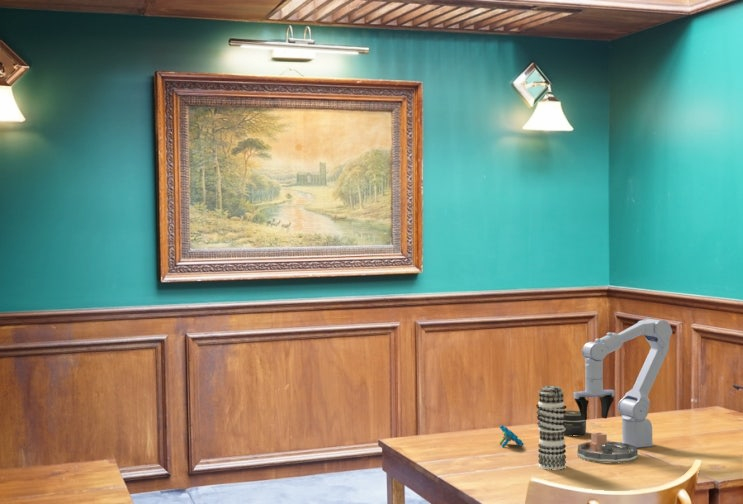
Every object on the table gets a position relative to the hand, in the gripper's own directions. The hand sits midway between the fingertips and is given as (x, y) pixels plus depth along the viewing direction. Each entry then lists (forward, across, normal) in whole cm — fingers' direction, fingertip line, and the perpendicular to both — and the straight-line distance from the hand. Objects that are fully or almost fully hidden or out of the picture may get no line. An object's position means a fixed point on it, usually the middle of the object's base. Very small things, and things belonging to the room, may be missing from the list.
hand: (594, 418), depth 315 cm
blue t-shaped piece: (+11, +23, -15) cm, 30 cm away
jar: (+11, -6, -24) cm, 27 cm away
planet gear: (+9, +1, +4) cm, 10 cm away
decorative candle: (+11, +24, +15) cm, 30 cm away
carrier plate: (+10, +1, +9) cm, 14 cm away
